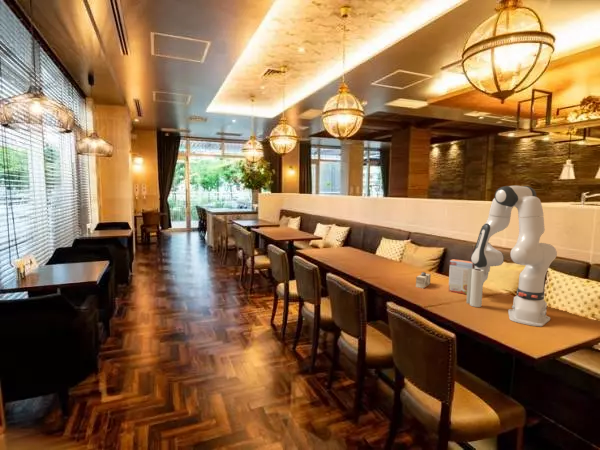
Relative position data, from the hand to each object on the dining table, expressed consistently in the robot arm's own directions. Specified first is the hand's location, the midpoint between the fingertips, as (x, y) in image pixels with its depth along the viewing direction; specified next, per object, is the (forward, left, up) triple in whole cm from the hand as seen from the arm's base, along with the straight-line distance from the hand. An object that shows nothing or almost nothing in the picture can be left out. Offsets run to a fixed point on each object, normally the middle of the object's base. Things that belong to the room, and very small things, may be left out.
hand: (480, 289), depth 217 cm
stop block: (0, +36, -4) cm, 36 cm away
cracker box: (0, +11, -4) cm, 12 cm away
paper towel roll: (-21, -2, -4) cm, 22 cm away
